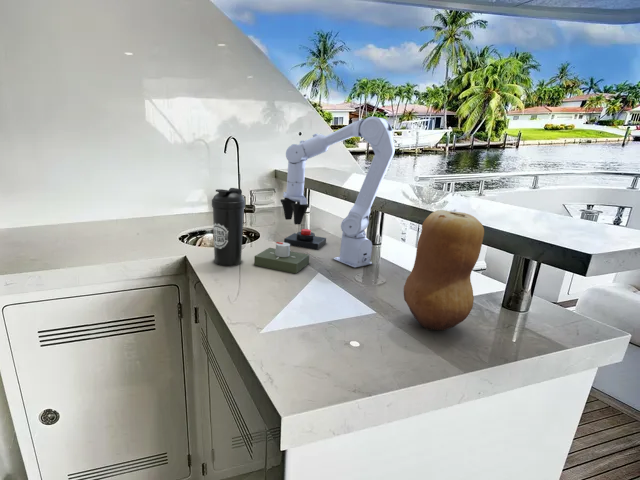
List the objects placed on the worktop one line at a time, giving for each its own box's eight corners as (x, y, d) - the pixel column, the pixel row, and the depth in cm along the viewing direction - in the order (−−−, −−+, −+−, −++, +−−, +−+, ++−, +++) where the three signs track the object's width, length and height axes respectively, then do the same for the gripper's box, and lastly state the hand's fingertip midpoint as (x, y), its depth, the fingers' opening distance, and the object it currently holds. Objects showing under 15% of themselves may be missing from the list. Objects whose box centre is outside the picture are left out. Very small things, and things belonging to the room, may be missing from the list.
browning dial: (291, 254, 120) (292, 242, 118) (286, 258, 116) (286, 245, 115) (278, 252, 122) (279, 240, 120) (273, 255, 118) (273, 243, 117)
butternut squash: (480, 337, 79) (512, 219, 70) (424, 343, 76) (450, 220, 68) (435, 308, 91) (457, 205, 83) (385, 312, 89) (402, 206, 80)
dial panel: (308, 263, 121) (309, 254, 120) (296, 273, 112) (296, 263, 111) (269, 256, 128) (269, 247, 127) (254, 265, 119) (254, 255, 118)
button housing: (325, 243, 144) (326, 233, 143) (317, 249, 136) (318, 239, 134) (293, 238, 150) (294, 228, 149) (283, 244, 142) (284, 233, 140)
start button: (312, 234, 142) (312, 229, 142) (308, 236, 139) (309, 231, 139) (302, 232, 144) (303, 228, 143) (299, 234, 141) (299, 230, 140)
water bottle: (205, 261, 121) (204, 188, 113) (227, 254, 128) (228, 185, 120) (227, 269, 114) (228, 192, 107) (250, 261, 122) (252, 189, 114)
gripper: (276, 179, 133) (274, 217, 137) (293, 185, 119) (291, 227, 124) (294, 179, 135) (292, 217, 139) (313, 184, 122) (310, 226, 126)
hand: (292, 221), depth 132 cm, fingers open, 7 cm apart
